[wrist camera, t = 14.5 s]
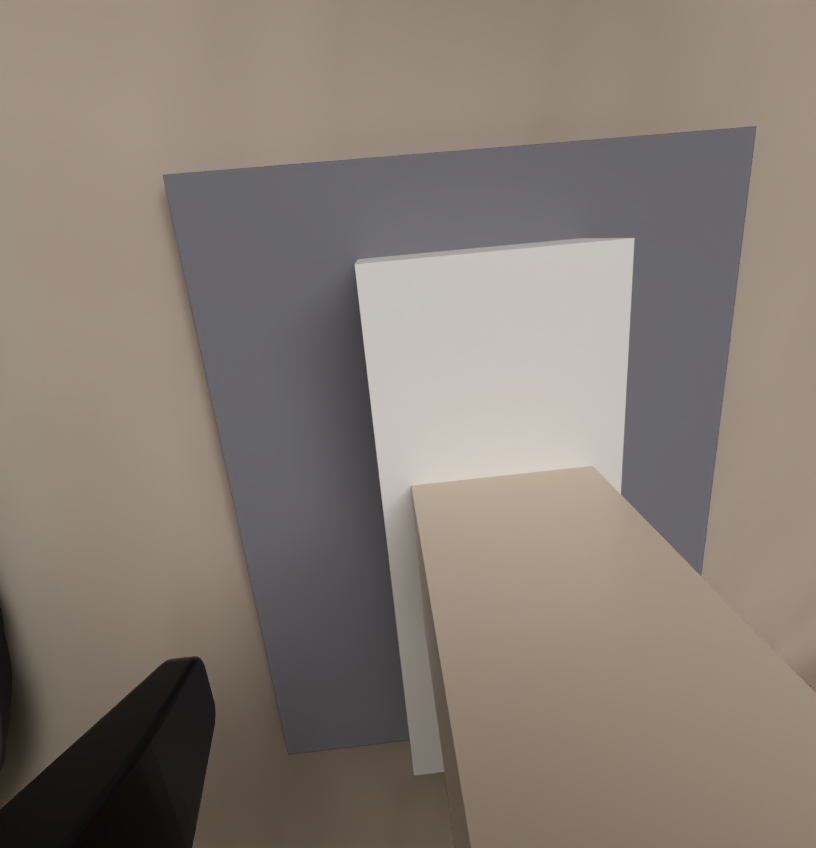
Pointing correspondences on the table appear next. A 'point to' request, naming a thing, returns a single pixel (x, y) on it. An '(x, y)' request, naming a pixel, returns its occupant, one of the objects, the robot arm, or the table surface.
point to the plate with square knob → (559, 574)
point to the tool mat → (348, 382)
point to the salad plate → (4, 692)
